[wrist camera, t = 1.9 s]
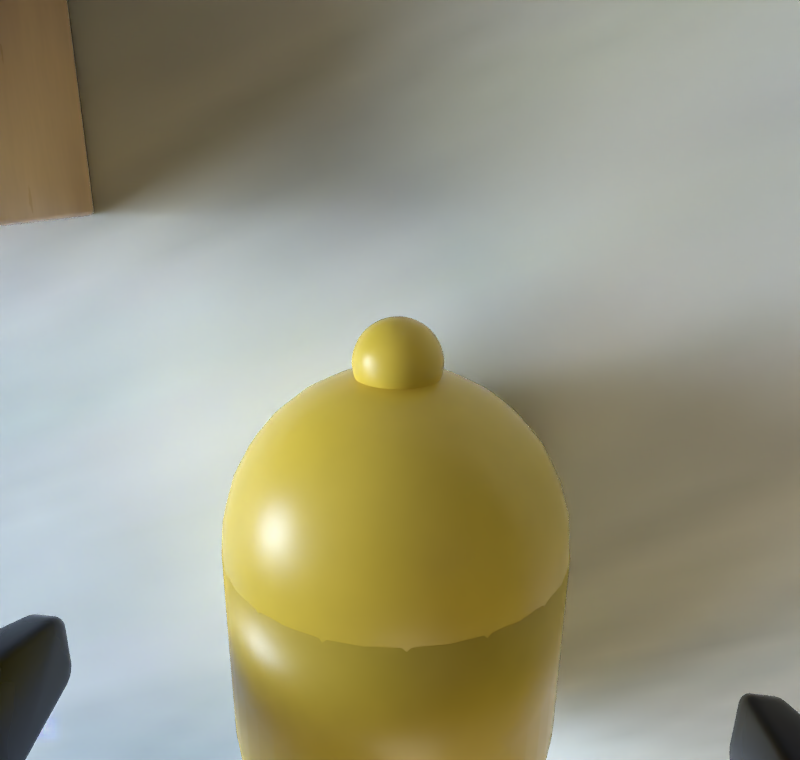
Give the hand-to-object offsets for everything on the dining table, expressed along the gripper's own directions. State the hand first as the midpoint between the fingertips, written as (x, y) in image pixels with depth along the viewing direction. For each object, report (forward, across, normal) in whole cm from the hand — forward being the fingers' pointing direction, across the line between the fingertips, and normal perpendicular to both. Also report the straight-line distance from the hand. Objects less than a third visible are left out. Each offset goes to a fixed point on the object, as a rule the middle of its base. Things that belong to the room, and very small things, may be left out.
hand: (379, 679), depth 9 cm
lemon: (+4, 0, 0) cm, 4 cm away
